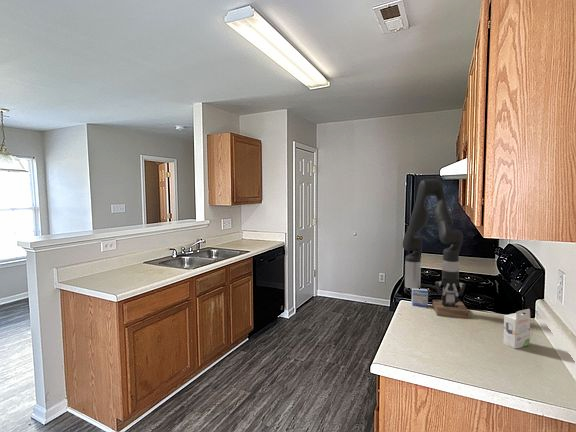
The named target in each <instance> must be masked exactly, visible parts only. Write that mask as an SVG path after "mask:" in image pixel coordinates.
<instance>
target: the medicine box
mask: <svg viewBox="0 0 576 432" xmlns="http://www.w3.org/2000/svg"><path fill="white" fill-rule="evenodd" d="M428 303H429V289H427V288H420V289H419V288H412V289H411V306H413V307H426V308H427V307H428V306H429V304H428Z"/></svg>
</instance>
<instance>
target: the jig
mask: <svg viewBox="0 0 576 432" xmlns="http://www.w3.org/2000/svg"><path fill="white" fill-rule="evenodd" d="M431 304H432V308H433V311H434V312H435V314H436V316H437V317H438V316H440V317H452V318H464V319H469V318H470V317H469V316H470V314H469V313H470V311H469V309H468V308H467V307H466V306H465V304H464V303H463V302H462V301H459V300H458V302H457V303H455V307H444V302H443V301H442V299H432V303H431Z"/></svg>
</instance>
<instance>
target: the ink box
mask: <svg viewBox="0 0 576 432" xmlns="http://www.w3.org/2000/svg"><path fill="white" fill-rule="evenodd" d="M530 336H531V309H530V308H527V309H522V310H518V311H516V312H515V313H509V314H505V315H503V345H505V346H508V347H510V348H512V349H514V350H515V349H520V348H523V347H524V348H525V347H526V346H527V345H528V346H530V343H531V342H530V340H531V339H530V338H531V337H530Z"/></svg>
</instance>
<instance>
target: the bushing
mask: <svg viewBox="0 0 576 432" xmlns="http://www.w3.org/2000/svg"><path fill="white" fill-rule="evenodd" d="M445 292H446V293H445V303H444V307H455V293H456V291H454V290H451V289H449V290H448V289H447V290H446V291H445Z"/></svg>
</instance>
